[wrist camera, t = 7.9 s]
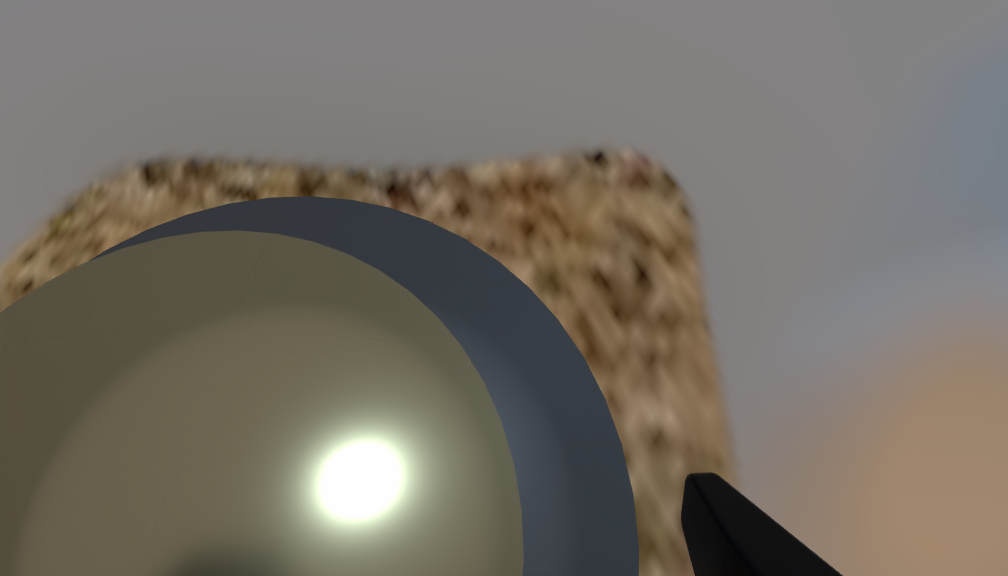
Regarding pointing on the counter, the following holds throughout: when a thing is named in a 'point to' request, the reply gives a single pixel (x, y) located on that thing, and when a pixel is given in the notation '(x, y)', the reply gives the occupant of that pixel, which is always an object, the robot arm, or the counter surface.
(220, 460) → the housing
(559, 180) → the counter surface
